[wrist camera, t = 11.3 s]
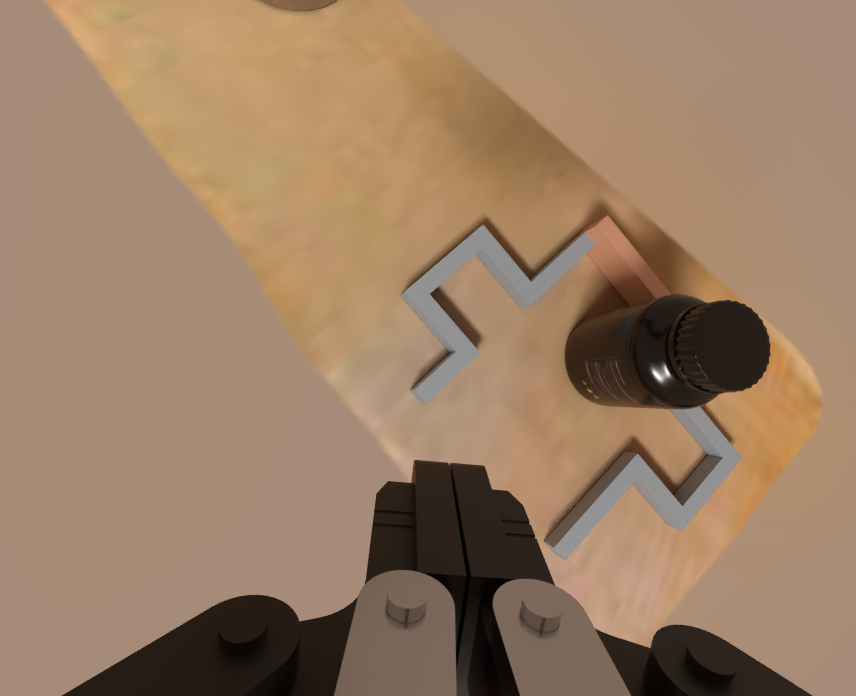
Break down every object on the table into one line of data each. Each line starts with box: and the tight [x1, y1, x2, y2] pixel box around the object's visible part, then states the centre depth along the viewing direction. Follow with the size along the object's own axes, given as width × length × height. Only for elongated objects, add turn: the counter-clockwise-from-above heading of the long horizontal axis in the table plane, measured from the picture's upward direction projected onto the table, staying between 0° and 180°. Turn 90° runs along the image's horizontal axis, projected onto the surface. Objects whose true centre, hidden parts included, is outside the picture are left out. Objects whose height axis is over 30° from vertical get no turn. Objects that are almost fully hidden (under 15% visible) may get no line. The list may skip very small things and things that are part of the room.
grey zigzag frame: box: [401, 215, 742, 560], centre depth 35 cm, size 26×18×3 cm
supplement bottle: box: [565, 294, 771, 409], centre depth 31 cm, size 7×7×12 cm
